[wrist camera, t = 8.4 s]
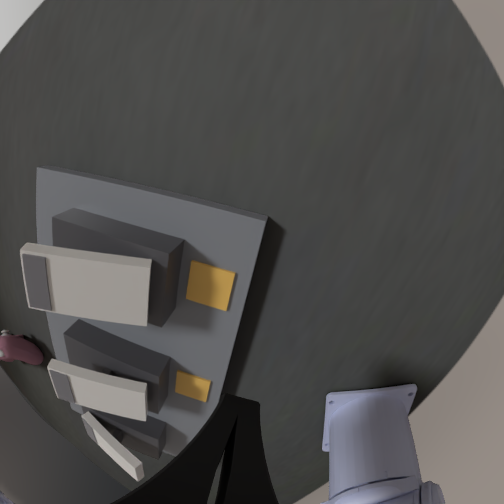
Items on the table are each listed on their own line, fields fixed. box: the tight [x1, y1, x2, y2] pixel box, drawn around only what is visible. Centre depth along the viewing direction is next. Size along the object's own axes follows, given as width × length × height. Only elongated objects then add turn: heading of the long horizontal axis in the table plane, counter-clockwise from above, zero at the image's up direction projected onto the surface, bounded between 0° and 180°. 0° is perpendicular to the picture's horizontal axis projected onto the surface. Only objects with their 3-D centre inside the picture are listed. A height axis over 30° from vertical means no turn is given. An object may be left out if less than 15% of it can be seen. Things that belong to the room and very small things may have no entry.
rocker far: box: [82, 411, 144, 481], centre depth 23 cm, size 8×4×1 cm, turn 76°
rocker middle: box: [47, 359, 148, 421], centre depth 19 cm, size 8×4×1 cm, turn 77°
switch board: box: [36, 165, 268, 460], centre depth 22 cm, size 18×30×5 cm, turn 167°
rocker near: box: [20, 243, 152, 326], centre depth 15 cm, size 8×4×1 cm, turn 77°
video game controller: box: [0, 330, 44, 365], centre depth 26 cm, size 10×5×7 cm, turn 106°
